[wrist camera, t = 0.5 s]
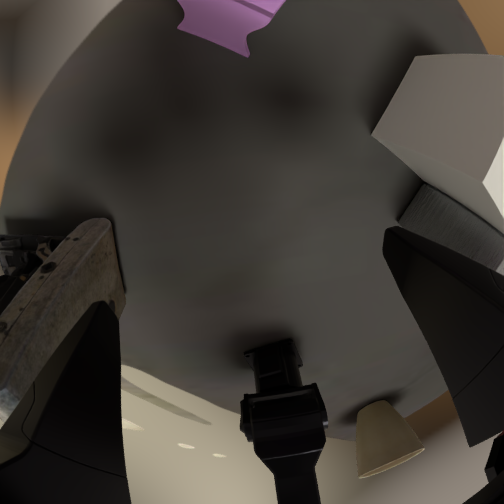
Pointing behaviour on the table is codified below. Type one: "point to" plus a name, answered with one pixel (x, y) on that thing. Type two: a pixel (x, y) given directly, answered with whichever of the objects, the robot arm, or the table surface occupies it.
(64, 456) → the robot arm
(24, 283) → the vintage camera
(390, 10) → the table surface
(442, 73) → the white box
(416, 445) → the plant pot
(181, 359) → the table surface
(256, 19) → the toy chair
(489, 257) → the silver metal panel
